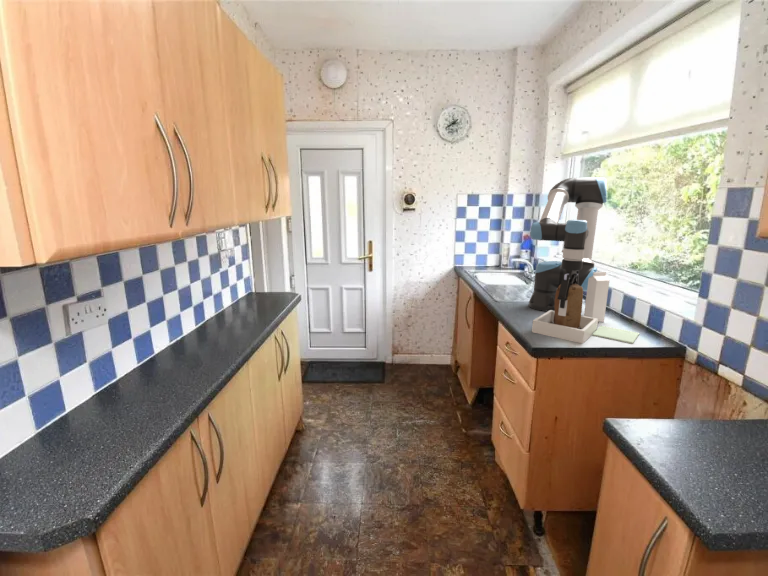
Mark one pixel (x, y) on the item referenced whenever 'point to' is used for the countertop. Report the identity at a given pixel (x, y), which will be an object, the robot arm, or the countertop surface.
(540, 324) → the holder
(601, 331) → the mat
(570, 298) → the brown rough stone
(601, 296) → the milk
